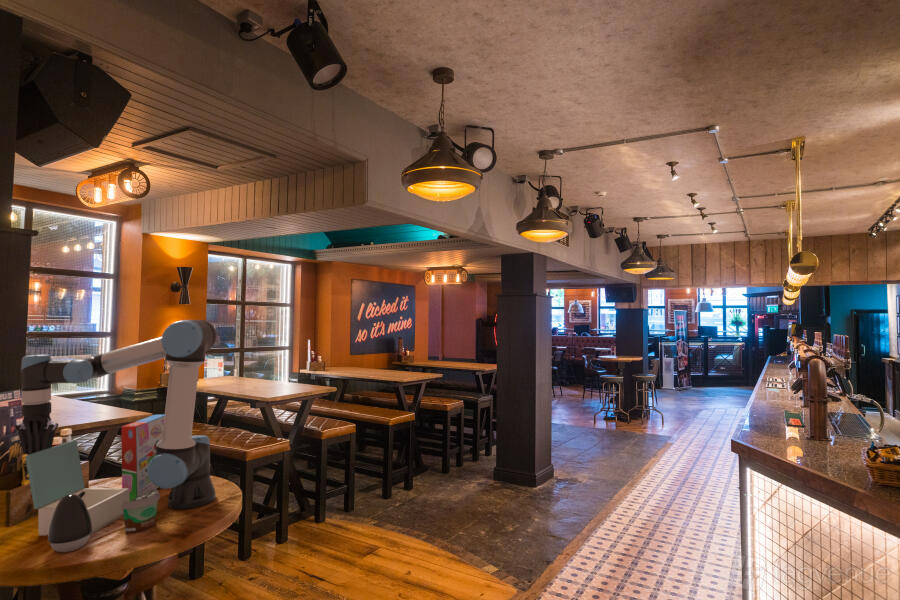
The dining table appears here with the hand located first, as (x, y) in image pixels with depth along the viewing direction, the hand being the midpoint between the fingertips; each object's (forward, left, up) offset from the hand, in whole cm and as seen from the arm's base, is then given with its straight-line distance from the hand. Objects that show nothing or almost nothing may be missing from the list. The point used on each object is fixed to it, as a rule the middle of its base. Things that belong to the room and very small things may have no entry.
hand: (37, 475), depth 166 cm
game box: (-18, -28, -15) cm, 36 cm away
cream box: (-17, 0, -15) cm, 23 cm away
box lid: (-7, 0, +1) cm, 7 cm away
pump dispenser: (-26, +17, -15) cm, 34 cm away
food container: (-39, +3, -15) cm, 42 cm away
